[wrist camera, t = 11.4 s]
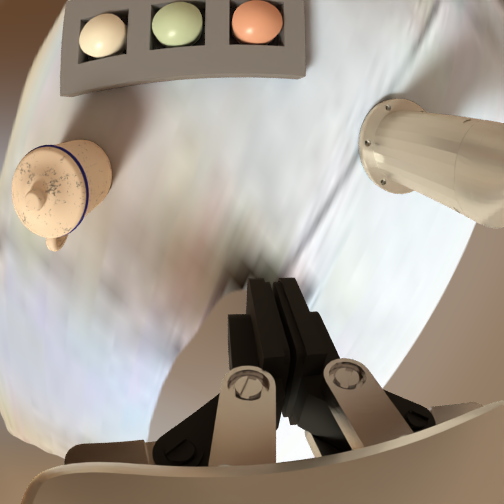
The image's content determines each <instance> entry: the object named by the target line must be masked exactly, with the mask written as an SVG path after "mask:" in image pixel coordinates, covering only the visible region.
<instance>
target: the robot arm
mask: <svg viewBox="0 0 504 504" xmlns="http://www.w3.org/2000/svg"><path fill="white" fill-rule="evenodd" d="M385 107H386V108H385ZM365 141H366V143H365ZM359 154H360V159H361V163H362V165H363V168H364V170H365V172H366V173H367V175H368V176H369V178H370V179H371V180H372V181H373V182H374V183H375V184H376V185H377V186H379V187H380V188H382V189H384V190H386V191H388V192H391V193H395V194H405V193H410V192H412V191H416V192H419V193H421V194H423V195H425V196H427V197H429V198H431V199H433V200H435V201H437V202H439V203H441V204H443V205H445V206H447V207H449V208H451V209H453V210H455V211H457V212H459V213H460V214H462V215H464V216H466V217H468V218H470V219H472V220H474V221H475V222H477V223H479V224H481V225H484V226H486V227H490V228H503V227H504V123H500V122H495V121H489V120H481V119H475V118H468V117H461V116H454V115H446V114H436V113H426V111H425V110H424V109H423V108H421V107H420V106H419V105H417V104H416V103H414V102H412V101H409V100H406V99H389V100H386V101H383V102H381V103H379V104H378V105H376V106H375V107H374V108H373V109H372V110H371V111H370V112H369V114H368V115H367V116H366V118H365V120H364V122H363V124H362V127H361V131H360V135H359ZM228 350H229V351H228V352H229V367H230V371H229V372H228V373H227V374H226V375H225V376H224V377H223V380H222V383H221V389H220V393H219V394H218V395H217V396H216V397H214V398H213V399H212V400H210V401H209V402H208V403H206V404H205V405H204V406H203V407H201V408H200V409H199V410H197V411H196V412H195V413H193V414H192V415H191V416H189V417H188V418H186V419H185V420H184V421H182V422H181V423H179V424H178V425H177V426H175V427H174V428H172V429H171V430H170V431H168V432H167V433H165V434H164V435H163V436H161V437H160V438H159V439H158V440H157V441H155V442H146V443H145V441H144V440H136V441H125V442H111V443H89V444H79V445H75V446H74V447H72V448H71V449H70V450H69V451H68V452H67V454H66V456H65V461H64V465H62V466H57V467H54V468H51V469H48V470H45V471H43V472H41V473H40V474H39V475H37V476H36V477H35V478H34V479H33V480H32V481H31V483H30V484H29V486H28V488H27V489H26V492H25V494H24V496H23V499H22V501H21V504H504V400H503V401H498V402H494V403H491V404H488V405H485V406H482V405H480V404H479V403H476V402H469V403H461V404H454V405H445V406H435V407H431V408H430V409H429V410H428V409H427V408H425V407H423V406H421V405H419V404H416V403H414V402H411V401H409V400H407V399H404V398H402V397H400V396H397V395H395V394H392V393H390V392H388V391H385V390H383V389H382V388H381V386H380V385H379V383H378V382H377V381H376V379H375V378H374V377H373V375H372V374H371V373H370V371H369V370H368V369H367V368H366V367H365V366H364V365H363V364H362V363H360V362H358V361H356V360H353V359H347V358H341V359H340V357H339V355H338V353H337V351H336V349H335V346H334V344H333V342H332V340H331V338H330V336H329V333H328V331H327V329H326V327H325V325H324V323H323V321H322V318H321V316H320V314H319V313H318V312H310V311H309V309H308V306H307V304H306V302H305V300H304V297H303V295H302V293H301V290H300V288H299V286H298V284H297V281H296V279H295V278H279V280H278V282H274V283H273V289H272V288H271V285H270V282H265V281H264V278H248V284H247V306H246V314H233V315H228ZM281 412H282V414H283V417H289V422H290V425H296V424H297V425H298V426H299V427H300V428H302V429H304V430H305V436H306V439H307V441H308V443H309V445H310V448H311V450H312V452H313V454H314V456H315V458H310V459H303V460H296V461H289V462H281V463H276V430H277V429H278V426H279V421H280V417H281Z"/></svg>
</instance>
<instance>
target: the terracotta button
mask: <svg viewBox="0 0 504 504" xmlns="http://www.w3.org/2000/svg"><path fill="white" fill-rule="evenodd" d="M282 24H283V20H282V16H281V14H280V12H279V11H278V9H277V8H276V7H275V6H273V5H272V4H270V3H268V2H265V1H260V0H252V1H248V2H245V3H243V4H241V5H240V6H239V7H238V8H237V9H236V10H235V12H234V15H233V19H232V23H231V33H232V35H233V37H234V38H235V39H236V40H237V41H238V42H239V43H240V44H242V45H267V44H269V43H270V42H271V41H272V40H273V39H274V38H275V37H276V35H277V34H278V33H279V32H280V30H281V28H282Z"/></svg>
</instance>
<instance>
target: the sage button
mask: <svg viewBox="0 0 504 504" xmlns="http://www.w3.org/2000/svg"><path fill="white" fill-rule="evenodd" d="M152 29H153V32H154V34H155V36H156V37H157V39H158V40H159V42H160V43H161V44H162V45H163V46H165V47H166V48H174V47H186V46H192V45H193V44H195V43H196V42H197V41H198V40H199V38H200V37H201V34H202V31H203V24H202V15H201V13H200V11H199V10H198V8H196V7H195V6H194V5H192V4H190V3H186V2H174V3H171V4H168V5H166V6H164V7H163V8H161V9H160V10H159V11H158V12H157V13H156V15H155V16H154V19H153V22H152Z"/></svg>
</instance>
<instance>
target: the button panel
mask: <svg viewBox="0 0 504 504" xmlns="http://www.w3.org/2000/svg"><path fill="white" fill-rule="evenodd" d="M248 1H252V0H70V1H67V2H66V7H65V15H64V24H63V35H62V48H61V71H60V96H66V97H74V96H78V95H82V94H87V93H91V92H96V91H101V90H107V89H112V88H118V87H124V86H130V85H137V84H144V83H152V82H161V81H171V80H183V79H198V78H221V77H262V78H286V79H300V78H302V77H305V76H306V56H305V14H304V0H260V1H265V2H268V3H270V4H272V5H273V6H275V7H276V8H277V9H278V11H279V12H280V14H281V16H282V20H283V24H282V28H281V30H280V32H279V33H278V46H268V45H229V8H238V7H239V6H240V5H241V4H243V3H245V2H248ZM174 2H186V3H190V4H192V5H194V6H195V7H196V8H198V9H206V11H205V45H203V46H186V47H174V48H165V49H156V50H155V34H154V32H153V29H152V22H153V19H154V16H155V15H156V13H157V12H158V11H159V10H160V9H161V8H163V7H164V6H166V5H168V4H171V3H174ZM101 14H114V15H116V16H118V17H119V18H120V19H123V18H128V31H127V54H123V55H117V56H112V57H107V58H102V59H98V60H93V61H89V62H88V54H86V53H85V52H84V51H83V50H82V49H81V47H80V44H79V38H80V34H81V31H82V29H83V28H84V26H85V25H86V24H87V23H88V22H89V21H90V20H91V19H93V18H94V17H96V16H98V15H101Z"/></svg>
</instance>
